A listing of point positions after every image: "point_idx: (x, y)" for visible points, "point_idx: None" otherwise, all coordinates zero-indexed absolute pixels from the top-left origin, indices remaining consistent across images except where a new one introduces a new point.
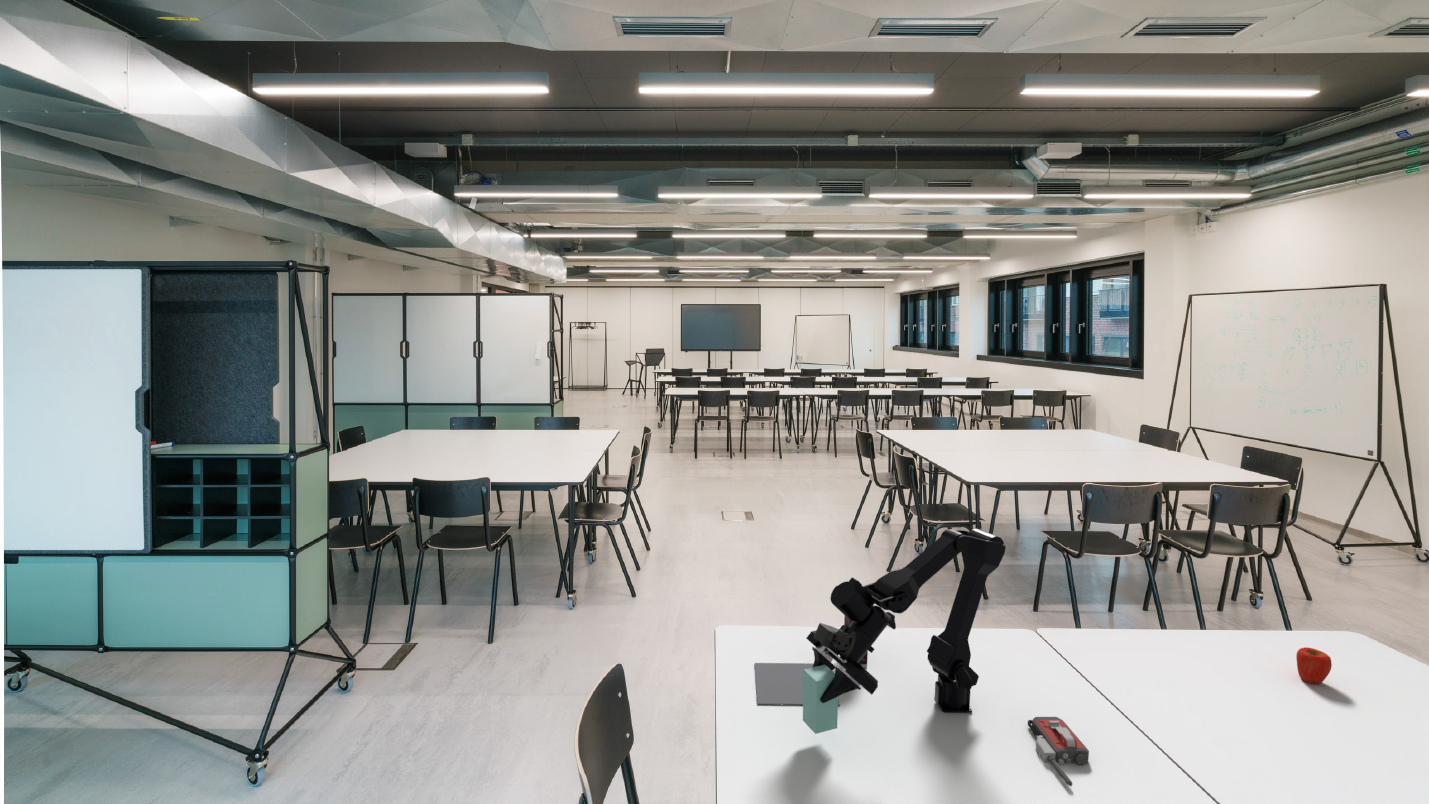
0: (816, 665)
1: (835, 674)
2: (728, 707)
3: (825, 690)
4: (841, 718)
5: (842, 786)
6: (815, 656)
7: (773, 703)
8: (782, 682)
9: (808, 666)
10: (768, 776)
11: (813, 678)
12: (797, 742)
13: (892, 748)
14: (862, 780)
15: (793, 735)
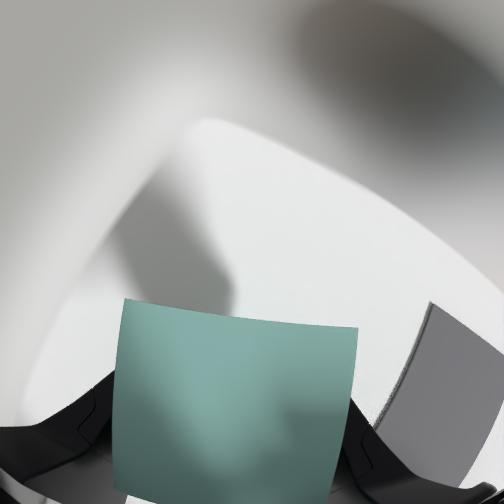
0: (358, 463)
1: (63, 455)
2: (439, 241)
3: None
4: None
5: (86, 292)
6: (421, 487)
7: (422, 339)
8: (464, 395)
9: (467, 463)
10: (195, 179)
11: (177, 310)
12: (264, 308)
13: None
14: (78, 341)
15: (295, 317)
